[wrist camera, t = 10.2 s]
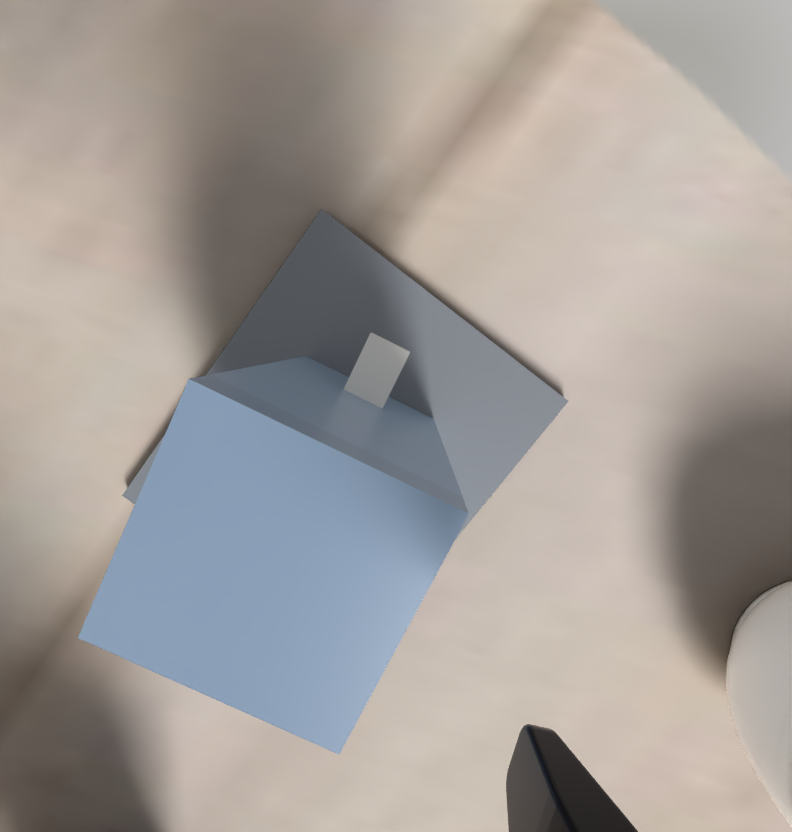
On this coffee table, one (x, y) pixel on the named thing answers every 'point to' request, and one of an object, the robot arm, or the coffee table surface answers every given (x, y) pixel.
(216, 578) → the tall blue rectangular block
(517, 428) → the flat square base plate
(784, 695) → the lidded jar
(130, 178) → the coffee table surface
